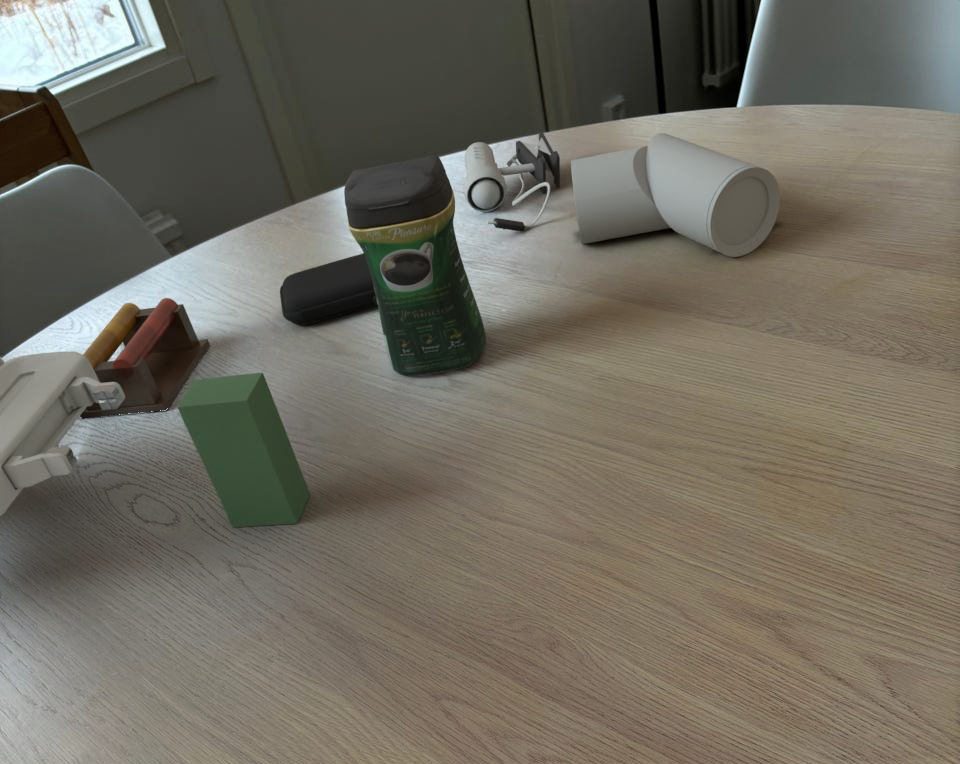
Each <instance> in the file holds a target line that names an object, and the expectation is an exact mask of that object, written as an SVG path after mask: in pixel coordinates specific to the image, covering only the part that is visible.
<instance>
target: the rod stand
mask: <svg viewBox="0 0 960 764" xmlns="http://www.w3.org/2000/svg"><path fill="white" fill-rule="evenodd" d="M122 344H123V345H124V348H123V349H122V351H120V353H119V354H118V355H117V356H116V358H115V360H110V359H111V358H112V356H113V355H114V354H115V353H116V351H117V350H118V349H119V348H120V346H122ZM210 347H211V344H210V342H209V339H208V338H207V339H205V338H204V339H199V338H198V336H197V333H196V331H195V329H194V327H193V325H192V322H191V320H190V317H189V315H188V312H187V310H186V308H185V305H184V304H183V303H181V304H180V303H179V304H178V303H177V302H176V300H175V299H172V298H169V297H163V298H162V299H161V300H160V301H159V302H158V304H157V305H156V306H155V307H147V308H139V306H137V305H136V304H135V303H132V302H126V303H124V304H123V305H122V306H121V307H120V309H119V310H118V311H117V312H116V314H115V315H114V316H113V317H112V318H111V320H110V321H109V322H108V323H107V324H106V326H105V327H104V328H103V329H102V330H101V332H100V333H99V334H98V335H97V336H96V338H95V339H94V341H93V342H92V343H91V344H90V345H89V346H88V348H87V349H86V350H85V351H84V353H82V355H84V356H85V357H87V359H88V360H89V362H90V364H91V366H92V367H93V369H94V371H95V373H96V375H97V377H98V379H99V381H100V383H106V382H117V383H118V384H119V385H120V386H121V388H122V390H123V392H124V394H125V399H124V400H123V402H122V403H121V404H120V405H119V407H118V408H117V409H109V410H102V409H101V407H100V405H99V403H95V402H93V404H92V406H87V407H86V408H85V410H84V411H83V412H82V414H81V415H80V416H79V418H81V420H83V419H84V420H86V419H85V418H87V419H96V418H95V417H98V418H104V417H103V416H108V417H113V416H112V415H119V414H120V415H119V416H122V415H121V414H128V413H138V412H139V413H140V412H150V413H152V412H151V411H160V410H161V412H163V411H162V410H166V409H167V408H168V407H169V406H170V407H171V405H172V404H173V402H174V401H175V400H176V398H177V396H178V395H179V394H180V392H181V390H182V389H183V388H184V386H185V384H186V383H187V381H188V380H189V379H190V377H191V375H192V374H193V372H194V371H195V370H196V368H197V366H198V365H199V364H200V362H201V361H202V359H203V358H204V356H205V354H206V353H207V352H208V350H209V348H210ZM109 360H110V361H109ZM171 403H172V404H171ZM170 404H171V405H170ZM170 407H169V408H170ZM169 408H168V409H169ZM140 414H141V413H140ZM110 415H111V416H110ZM101 416H102V417H101Z"/></svg>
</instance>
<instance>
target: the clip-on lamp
mask: <svg viewBox="0 0 960 764" xmlns="http://www.w3.org/2000/svg"><path fill="white" fill-rule="evenodd" d="M560 159H561V158H560V154H559V153H558V150H555V151H554V150H553V147H552V146H551V144H550V143H549V141H548V138H547V136H546V135H545V133H544V132H543V131H542V132H538V143H537V144H531V143H527V142H523V141H521V140H516V142H515V154H514V155H513V156H512V157H511V158H510V159H509V160H508V161H507V162H506V165H507V166H503V167H498V164H497V162H496V160H495V155H494V151H493V149H492V148H491V146H490V145H489V144H487V143H486V142H484V141H483V142H481V141H476V142H473V143H472V144H470V145H469V146H468V147H467V149H466V151H465V152H464V164H465V171H466V177H465V179H464V182H463V194H464V198H465V201H466V202H467V203H468V205H469V206H470V207H471V208H472V209H473V210H475V211H477V212H481V213H488V212H492V211H494V210H496V209H498V208H499V207H500V206H501V205H502V204H503V203H504V201H505V198H506V196H507V183H506V179H505V176H513V175H518V177H519V180H520V181H521V185H522V186H521V189H520V191H519V193H518V194H517V196H516V197H515V198H514V199H513V200H512V206H513V207H514V206H516V205H517V204H519V203H521V202H522V201H523V200H524V199H526V198H527V197H528V196H530V195H531V194H532V193H534V192H536V191H538V190H539V191H540V192H541V194H542V195H543V194H546V196H545V200H544V203H543V204H542V206H541V209H540V211H539V212H538V214H537V216H536V217H535V218H534V219H533V220H532V222H531V223H528V224H527V225H526V224H525V223H524V222H523V221H519V220H513V219H512V220H511V219H506V218H500V217H495V218H493V221H492V220H491V221H487V225H493V226H494V227H495V229H500V230H501V229H502V230H508V231H512V232H515V231H516V232H520V233H521V232H524V231H525V230H526V229H529V228H530V227H533V226H534V225H535V224H536V223H537V222H538V220H539V219H540V218H541V216H542V214H543V213H544V211H545V209H546V206H547V205H548V203H549V199H550V195H551V188H552V187H551V184H550V183H549V182H547V172H548V173H549V174H551V175H552V177H553V184H554V186H555V187H556V188H561V163H560V161H561V160H560ZM513 164H515V165H513ZM526 173H529V174H530V175H531V176H532V177H533V178H534V179H535V181H536V182H537V183H538V184H536V185H534V186H533V187H531V188H530V189H528V190H527V191H526V192H524V191H525V186H526V185H525V181H524V174H526Z"/></svg>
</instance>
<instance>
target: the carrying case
mask: <svg viewBox="0 0 960 764" xmlns="http://www.w3.org/2000/svg"><path fill="white" fill-rule="evenodd" d="M279 296H280V305H281V314H282V316H283V318H284V319H285V320H286V321H288V322H291V323H292V324H294V325H296V326H306V325H309V324H314V323H317V322H320V321H324V320H328V319H331V318H335V317H338V316H342V315H345V314H349V313H352V312H357V311H360V310H362V309H366V308H370V307H373V306H378V304H377V299H376V294H375V289H374V285H373V281H372V277H371V274H370V270H369V267H368V264H367V261H366V258H365V255H364V253H359V254H355V255H352V256H349V257H345V258H342V259H338V260H334V261H331V262H328V263H325V264H322V265H318V266H313V267H311V268H307V269H304V270H301V271H297V272H295V273H292V274H290V275H288V276H286V277H285V278H284V280H283V282H282V284H281V286H280V288H279Z"/></svg>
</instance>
